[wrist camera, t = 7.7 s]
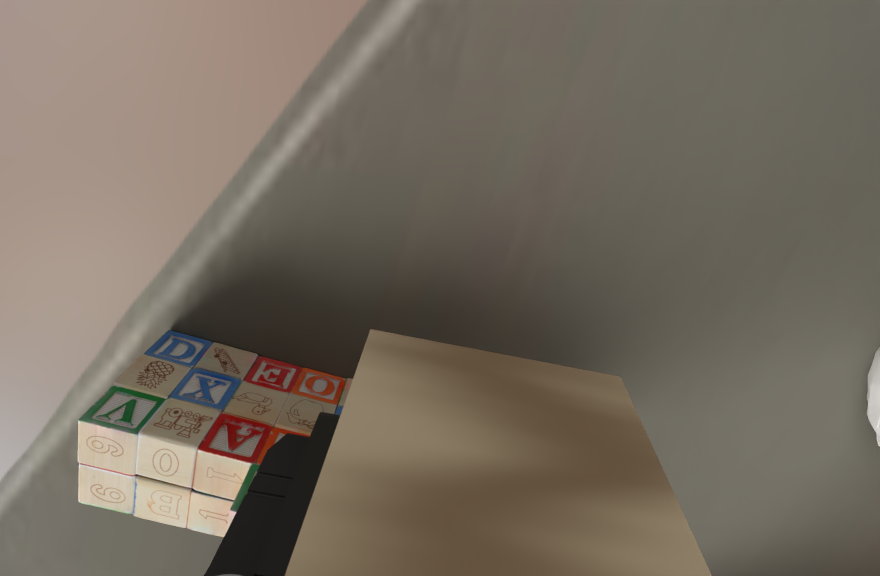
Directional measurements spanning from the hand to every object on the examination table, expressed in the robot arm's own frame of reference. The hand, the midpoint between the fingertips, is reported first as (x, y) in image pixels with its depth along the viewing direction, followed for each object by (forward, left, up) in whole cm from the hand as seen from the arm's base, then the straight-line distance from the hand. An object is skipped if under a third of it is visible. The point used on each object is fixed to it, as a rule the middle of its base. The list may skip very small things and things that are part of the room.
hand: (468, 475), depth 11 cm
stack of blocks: (+7, +17, -22) cm, 29 cm away
